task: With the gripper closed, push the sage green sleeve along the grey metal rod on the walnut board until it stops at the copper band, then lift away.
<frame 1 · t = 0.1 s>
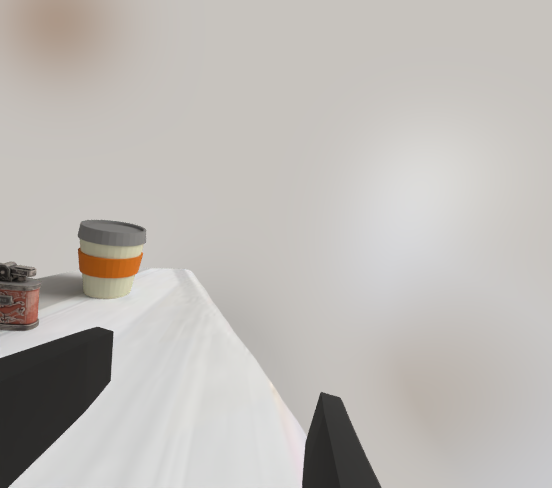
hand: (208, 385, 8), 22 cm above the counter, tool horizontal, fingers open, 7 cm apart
lighter: (7, 324, 40), on the counter
reusable coffee cup: (107, 291, 58), on the counter
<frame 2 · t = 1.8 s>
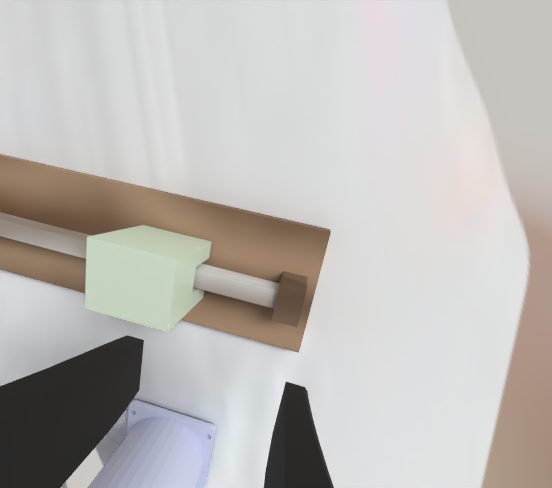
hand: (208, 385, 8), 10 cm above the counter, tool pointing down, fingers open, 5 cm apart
rod board: (182, 257, 19), on the counter
sleeve: (154, 272, 16), point 4 cm above the counter, slide at 0.0 cm
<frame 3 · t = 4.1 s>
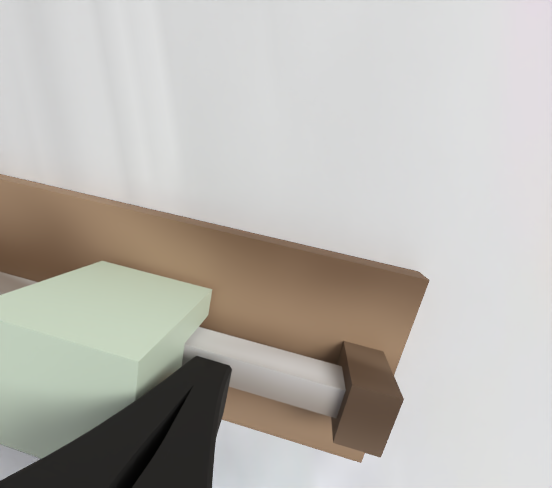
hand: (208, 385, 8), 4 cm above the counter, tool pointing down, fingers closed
rod board: (177, 308, 12), on the counter
sleeve: (112, 350, 9), point 4 cm above the counter, slide at 0.5 cm, touching gripper
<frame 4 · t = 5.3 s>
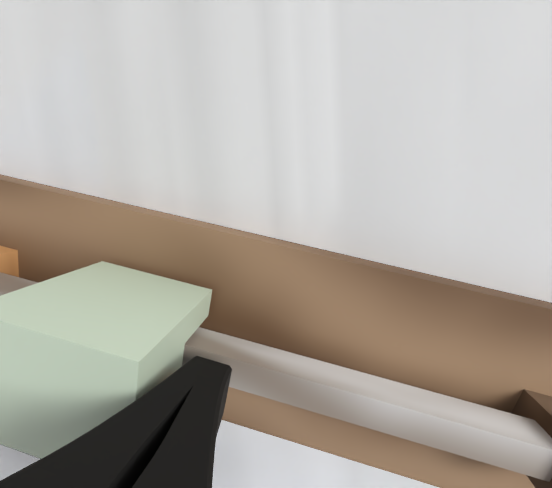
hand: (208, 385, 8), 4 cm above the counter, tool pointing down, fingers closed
rod board: (317, 346, 12), on the counter
sleeve: (112, 350, 9), point 4 cm above the counter, slide at 7.4 cm, touching gripper
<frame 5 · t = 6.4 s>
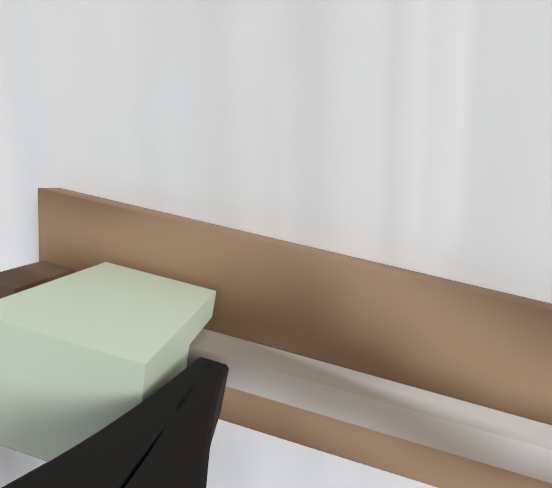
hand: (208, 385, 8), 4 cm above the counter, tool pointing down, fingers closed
rod board: (420, 374, 11), on the counter
sleeve: (116, 352, 9), point 4 cm above the counter, slide at 11.9 cm, touching gripper
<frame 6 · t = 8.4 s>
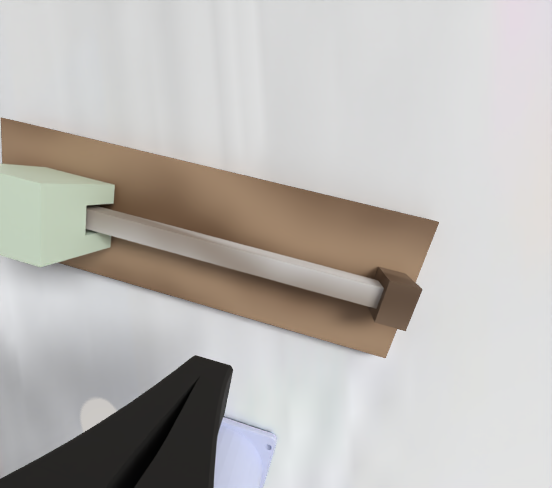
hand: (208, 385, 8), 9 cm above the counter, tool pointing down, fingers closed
rod board: (253, 248, 17), on the counter
sleeve: (43, 210, 15), point 4 cm above the counter, slide at 11.8 cm
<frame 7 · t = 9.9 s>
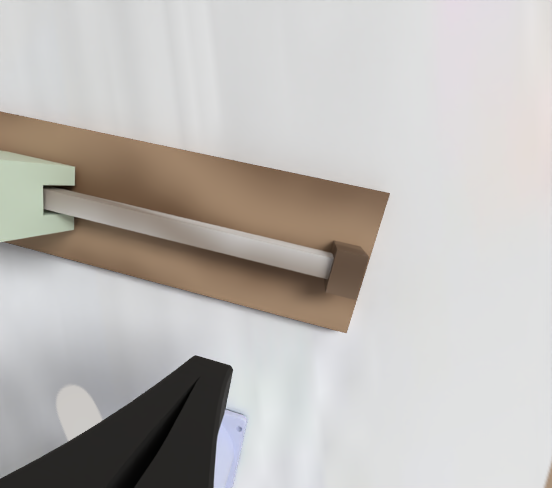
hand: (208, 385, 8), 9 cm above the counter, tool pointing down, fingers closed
rod board: (215, 228, 17), on the counter
sleeve: (1, 191, 15), point 4 cm above the counter, slide at 11.8 cm
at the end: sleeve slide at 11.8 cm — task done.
